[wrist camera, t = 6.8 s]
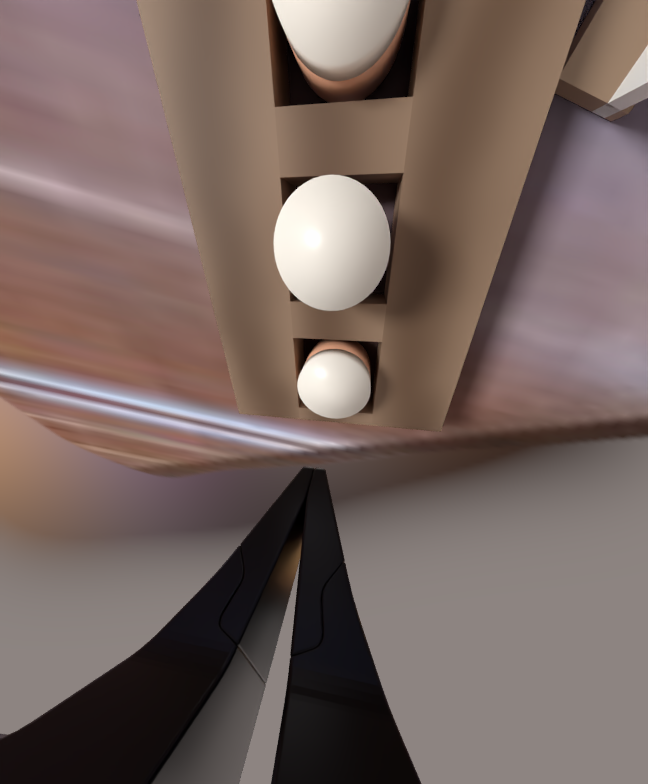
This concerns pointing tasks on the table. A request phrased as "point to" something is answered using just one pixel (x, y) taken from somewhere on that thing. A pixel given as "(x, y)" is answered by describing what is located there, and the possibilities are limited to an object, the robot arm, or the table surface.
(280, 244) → the middle button
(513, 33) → the button board
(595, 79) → the card
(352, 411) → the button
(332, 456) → the table surface
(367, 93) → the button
